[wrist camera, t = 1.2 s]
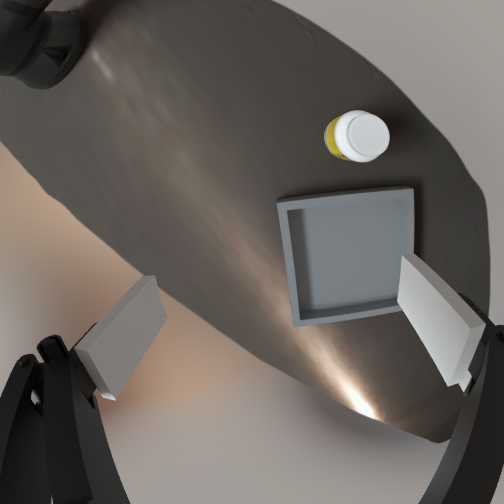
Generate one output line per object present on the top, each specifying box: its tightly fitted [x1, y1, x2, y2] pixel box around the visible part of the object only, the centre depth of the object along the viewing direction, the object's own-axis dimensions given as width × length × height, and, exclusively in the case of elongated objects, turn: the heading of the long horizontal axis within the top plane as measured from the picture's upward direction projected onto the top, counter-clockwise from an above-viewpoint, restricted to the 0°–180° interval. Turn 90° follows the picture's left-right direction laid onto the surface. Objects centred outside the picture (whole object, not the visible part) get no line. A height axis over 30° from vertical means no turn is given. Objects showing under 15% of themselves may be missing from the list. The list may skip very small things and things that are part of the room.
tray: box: [277, 185, 414, 327], centre depth 34 cm, size 17×17×3 cm
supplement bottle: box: [324, 110, 390, 162], centre depth 25 cm, size 5×5×10 cm
